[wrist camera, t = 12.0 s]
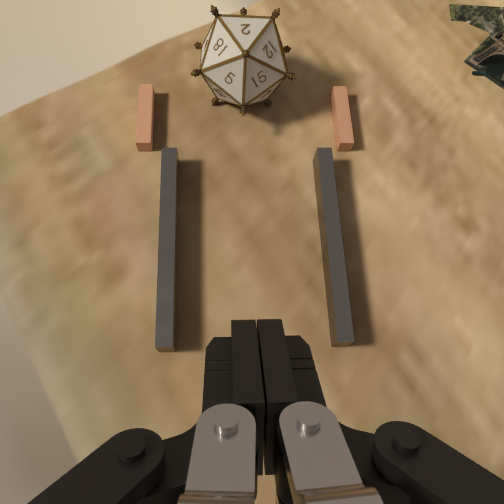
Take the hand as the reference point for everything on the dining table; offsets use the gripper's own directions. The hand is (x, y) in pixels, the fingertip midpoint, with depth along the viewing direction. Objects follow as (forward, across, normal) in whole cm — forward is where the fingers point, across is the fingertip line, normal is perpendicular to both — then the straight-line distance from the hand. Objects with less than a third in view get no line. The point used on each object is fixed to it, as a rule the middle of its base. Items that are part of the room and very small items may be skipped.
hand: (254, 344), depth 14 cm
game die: (+33, -1, -4) cm, 33 cm away
